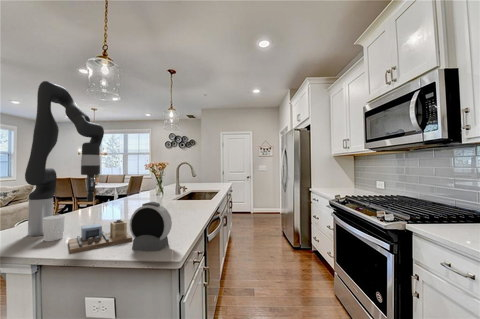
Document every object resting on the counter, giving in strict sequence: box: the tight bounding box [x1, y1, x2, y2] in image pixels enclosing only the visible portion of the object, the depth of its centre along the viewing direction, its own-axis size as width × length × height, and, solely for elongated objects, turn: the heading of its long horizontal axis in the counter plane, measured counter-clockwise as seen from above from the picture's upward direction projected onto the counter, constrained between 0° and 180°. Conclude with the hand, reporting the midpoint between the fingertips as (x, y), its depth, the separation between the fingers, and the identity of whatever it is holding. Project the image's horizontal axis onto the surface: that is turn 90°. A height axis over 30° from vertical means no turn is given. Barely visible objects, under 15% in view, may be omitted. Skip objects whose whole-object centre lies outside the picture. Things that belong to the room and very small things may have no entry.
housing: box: [80, 223, 103, 241], centre depth 99 cm, size 6×7×5 cm
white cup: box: [42, 214, 66, 242], centre depth 102 cm, size 8×8×10 cm
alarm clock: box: [129, 201, 173, 252], centre depth 92 cm, size 16×10×18 cm, turn 82°
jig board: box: [67, 219, 133, 254], centre depth 98 cm, size 15×22×8 cm
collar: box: [109, 219, 128, 238], centre depth 102 cm, size 6×6×6 cm
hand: (90, 201), depth 105 cm, fingers closed
